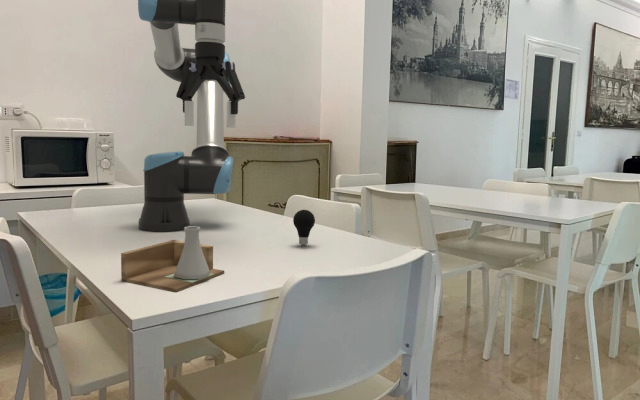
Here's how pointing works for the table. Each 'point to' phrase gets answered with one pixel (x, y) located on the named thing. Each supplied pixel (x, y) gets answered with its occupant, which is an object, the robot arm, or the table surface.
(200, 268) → the flask
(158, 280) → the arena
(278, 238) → the table surface
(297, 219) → the light bulb
